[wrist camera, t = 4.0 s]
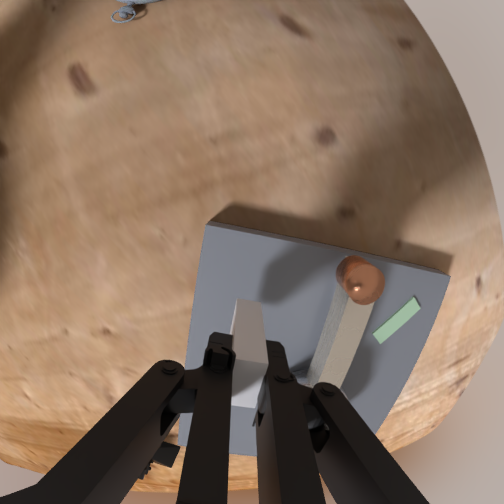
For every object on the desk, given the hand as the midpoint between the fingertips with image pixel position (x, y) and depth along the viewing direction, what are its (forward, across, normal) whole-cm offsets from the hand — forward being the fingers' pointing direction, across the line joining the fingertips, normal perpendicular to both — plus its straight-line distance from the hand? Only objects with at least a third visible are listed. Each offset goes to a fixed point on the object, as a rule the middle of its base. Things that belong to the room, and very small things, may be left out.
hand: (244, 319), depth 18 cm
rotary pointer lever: (+2, -6, +6) cm, 9 cm away
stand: (+4, -6, +6) cm, 10 cm away
